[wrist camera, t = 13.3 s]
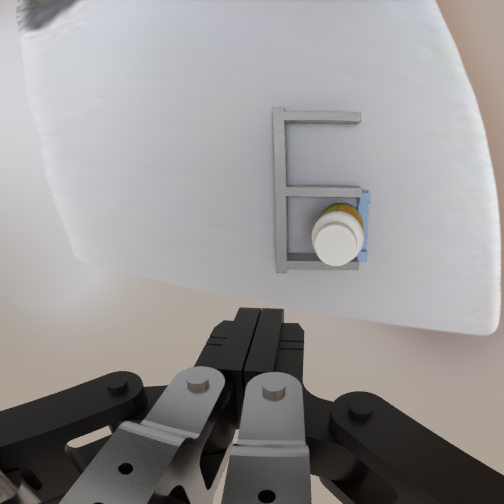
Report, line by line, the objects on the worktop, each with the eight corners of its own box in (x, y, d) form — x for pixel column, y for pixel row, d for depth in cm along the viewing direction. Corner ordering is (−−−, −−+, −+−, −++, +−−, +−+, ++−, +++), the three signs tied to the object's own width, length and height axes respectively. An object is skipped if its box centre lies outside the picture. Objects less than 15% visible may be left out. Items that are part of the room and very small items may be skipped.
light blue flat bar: (357, 190, 36) (360, 191, 35) (367, 190, 36) (370, 192, 34) (354, 258, 39) (357, 262, 37) (364, 258, 39) (366, 262, 37)
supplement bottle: (340, 193, 36) (333, 204, 28) (372, 224, 36) (376, 245, 27) (310, 225, 39) (294, 246, 30) (342, 255, 38) (336, 284, 30)
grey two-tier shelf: (274, 111, 35) (272, 107, 32) (356, 112, 34) (360, 108, 31) (278, 264, 41) (276, 272, 38) (354, 265, 39) (357, 274, 36)
